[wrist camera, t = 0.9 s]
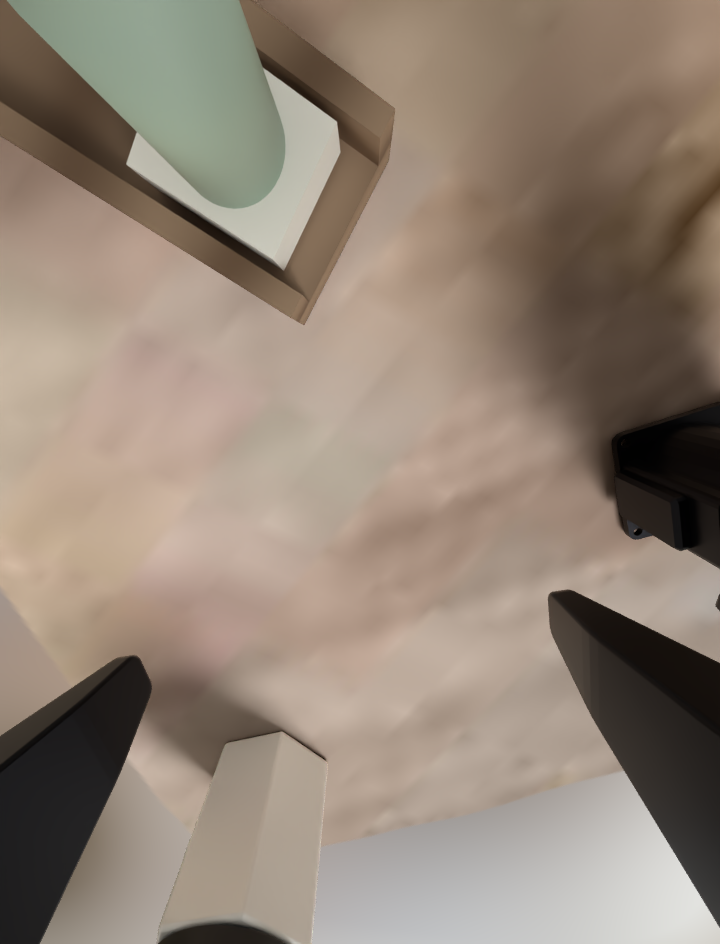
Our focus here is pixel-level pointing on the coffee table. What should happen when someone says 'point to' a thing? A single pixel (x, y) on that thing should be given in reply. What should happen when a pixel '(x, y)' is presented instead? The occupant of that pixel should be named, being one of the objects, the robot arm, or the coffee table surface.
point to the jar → (252, 849)
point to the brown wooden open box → (108, 177)
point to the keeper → (200, 111)
